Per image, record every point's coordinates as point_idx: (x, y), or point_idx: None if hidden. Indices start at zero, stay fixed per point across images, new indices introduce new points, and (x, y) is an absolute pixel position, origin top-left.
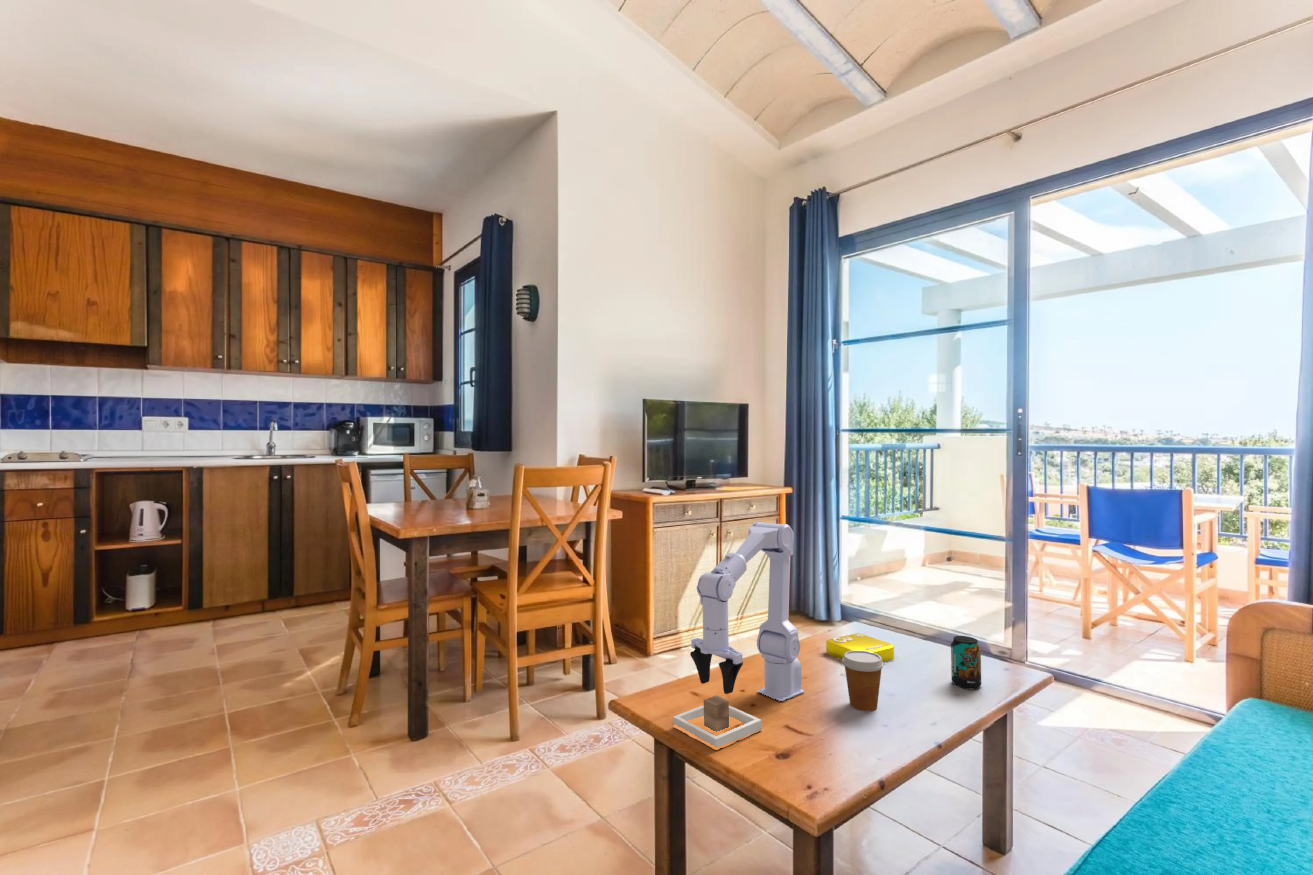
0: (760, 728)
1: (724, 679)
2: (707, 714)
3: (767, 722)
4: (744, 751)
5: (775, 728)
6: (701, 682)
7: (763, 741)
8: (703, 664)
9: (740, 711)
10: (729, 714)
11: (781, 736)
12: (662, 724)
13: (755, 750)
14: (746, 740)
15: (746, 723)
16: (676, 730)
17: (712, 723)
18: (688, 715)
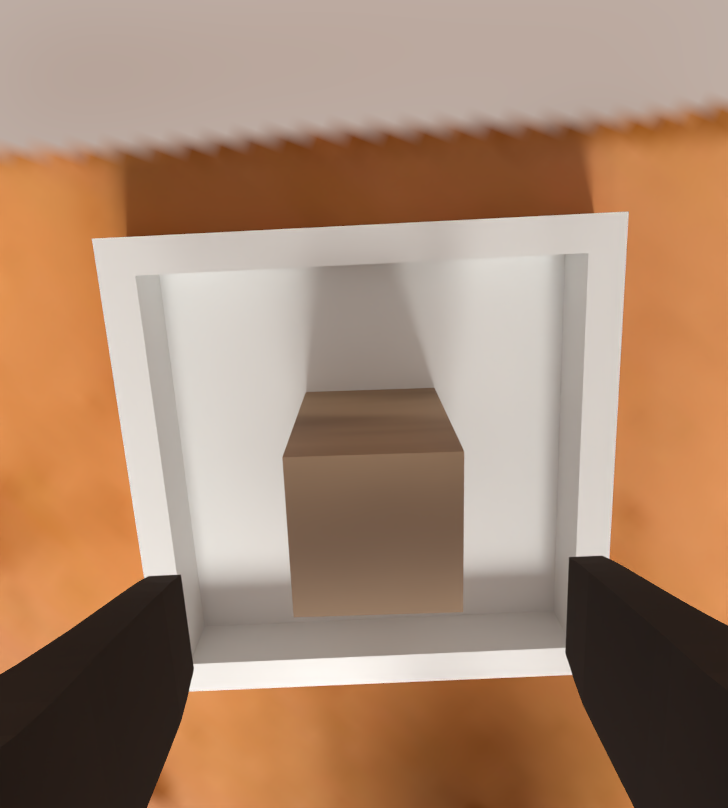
0: None
1: (38, 667)
2: (400, 416)
3: (251, 740)
4: (29, 388)
5: None
6: (587, 557)
7: (73, 565)
8: (694, 771)
9: (348, 672)
10: (438, 623)
11: None
12: (690, 180)
13: (5, 451)
14: None
15: None
16: (543, 206)
17: (340, 404)
18: (577, 353)
